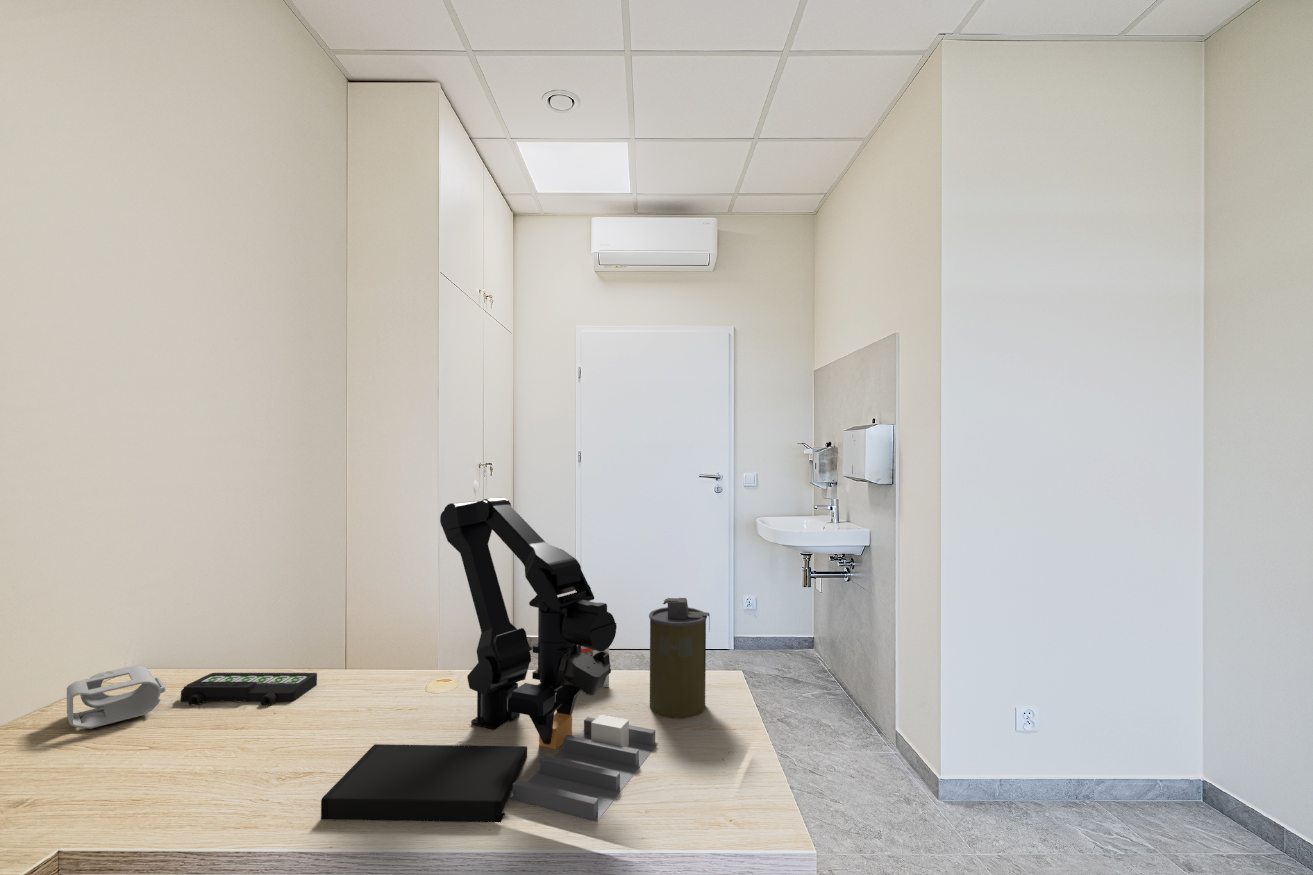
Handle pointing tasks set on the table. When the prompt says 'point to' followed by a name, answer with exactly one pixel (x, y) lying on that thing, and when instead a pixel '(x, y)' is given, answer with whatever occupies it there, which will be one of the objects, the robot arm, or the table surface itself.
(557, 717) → the orange block
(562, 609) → the robot arm
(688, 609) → the canister
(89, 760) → the table surface
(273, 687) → the digital display
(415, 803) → the external hard drive
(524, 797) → the grey ridged tray
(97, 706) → the cable organizer
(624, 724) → the white block
